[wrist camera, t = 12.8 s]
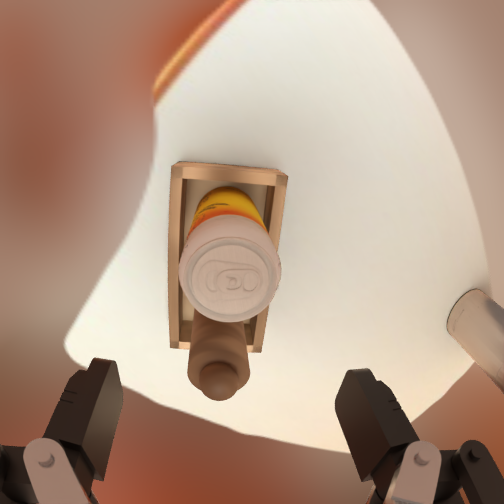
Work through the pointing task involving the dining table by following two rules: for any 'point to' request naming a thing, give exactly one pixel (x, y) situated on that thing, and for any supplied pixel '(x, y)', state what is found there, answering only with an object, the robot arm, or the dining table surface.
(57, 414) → the robot arm
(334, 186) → the dining table surface
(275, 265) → the beer can
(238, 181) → the caddy
